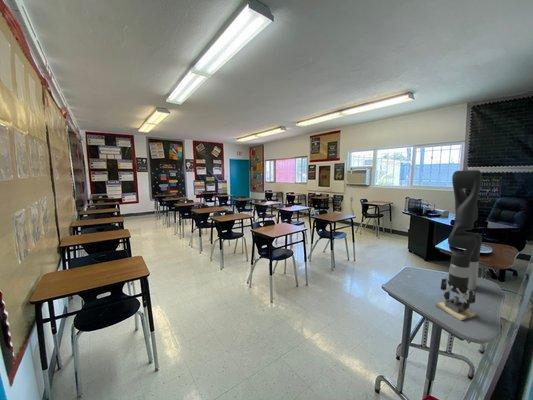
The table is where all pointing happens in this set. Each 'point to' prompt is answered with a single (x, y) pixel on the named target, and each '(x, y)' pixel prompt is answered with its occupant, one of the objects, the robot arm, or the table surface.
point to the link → (454, 306)
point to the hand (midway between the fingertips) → (455, 303)
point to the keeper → (460, 316)
